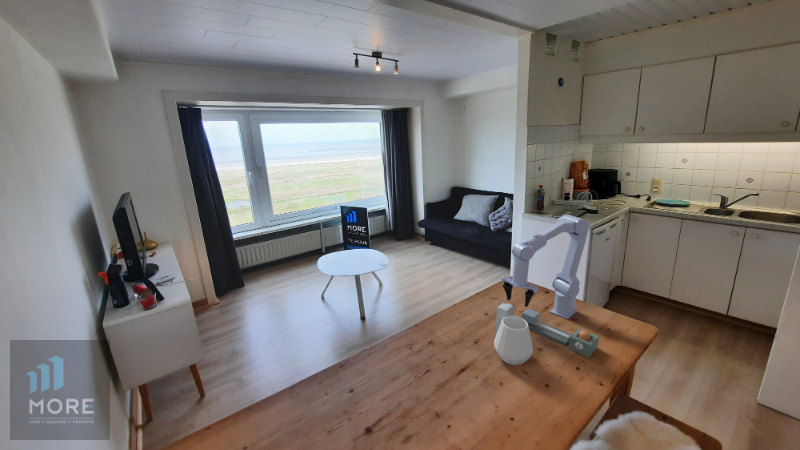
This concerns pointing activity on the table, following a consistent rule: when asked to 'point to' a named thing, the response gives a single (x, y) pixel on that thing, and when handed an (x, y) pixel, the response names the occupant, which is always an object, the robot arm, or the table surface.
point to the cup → (513, 341)
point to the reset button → (584, 335)
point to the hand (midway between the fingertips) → (517, 302)
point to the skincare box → (503, 313)
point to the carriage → (530, 316)
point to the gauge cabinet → (583, 343)
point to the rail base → (550, 332)
